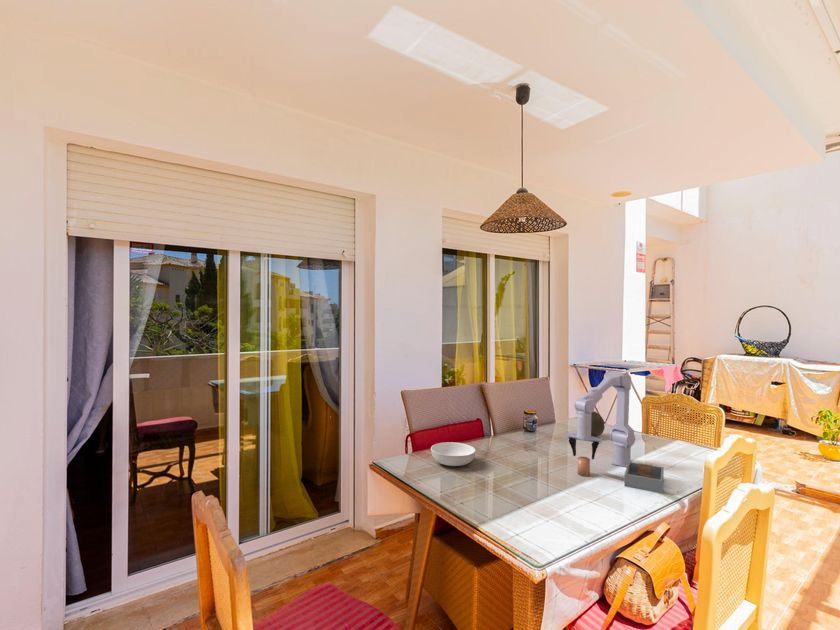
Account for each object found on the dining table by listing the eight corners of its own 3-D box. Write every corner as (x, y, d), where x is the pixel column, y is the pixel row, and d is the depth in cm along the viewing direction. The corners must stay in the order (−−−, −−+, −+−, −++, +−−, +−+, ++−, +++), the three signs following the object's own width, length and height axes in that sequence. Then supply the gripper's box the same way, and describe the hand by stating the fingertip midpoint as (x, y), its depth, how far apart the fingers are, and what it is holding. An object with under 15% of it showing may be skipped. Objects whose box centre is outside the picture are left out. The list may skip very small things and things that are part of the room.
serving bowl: (470, 473, 188) (470, 458, 188) (424, 467, 195) (425, 452, 195) (479, 458, 207) (479, 444, 207) (437, 453, 214) (438, 439, 214)
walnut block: (638, 474, 186) (638, 463, 186) (651, 476, 184) (652, 465, 184) (637, 478, 182) (637, 466, 182) (651, 480, 179) (651, 468, 179)
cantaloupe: (585, 432, 256) (586, 407, 256) (608, 438, 245) (609, 411, 245) (572, 436, 247) (573, 410, 247) (596, 442, 236) (596, 415, 236)
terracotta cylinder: (578, 471, 192) (578, 455, 192) (590, 473, 189) (590, 457, 189) (576, 475, 188) (576, 459, 187) (588, 477, 185) (588, 461, 185)
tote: (628, 472, 191) (628, 461, 191) (663, 479, 184) (663, 467, 184) (624, 486, 176) (624, 473, 176) (662, 493, 169) (662, 480, 169)
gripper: (565, 425, 189) (564, 456, 189) (600, 430, 181) (600, 462, 181) (568, 422, 195) (568, 452, 195) (602, 427, 187) (602, 458, 187)
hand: (583, 457), depth 188 cm, fingers open, 7 cm apart
